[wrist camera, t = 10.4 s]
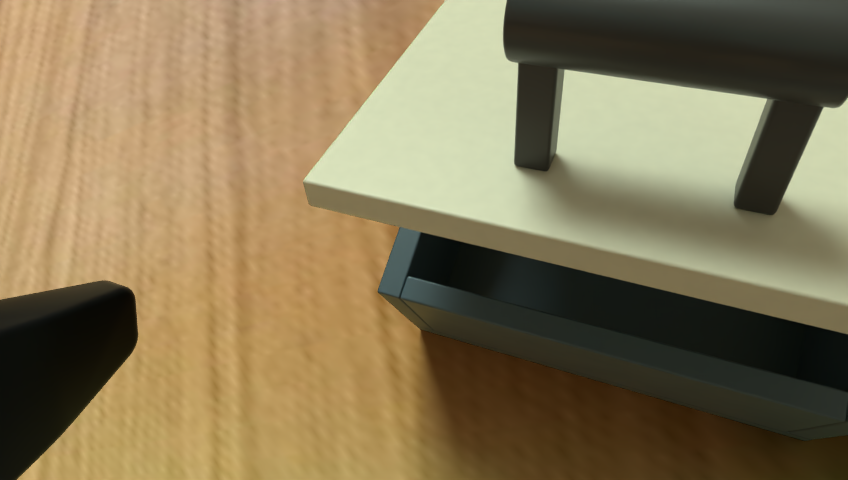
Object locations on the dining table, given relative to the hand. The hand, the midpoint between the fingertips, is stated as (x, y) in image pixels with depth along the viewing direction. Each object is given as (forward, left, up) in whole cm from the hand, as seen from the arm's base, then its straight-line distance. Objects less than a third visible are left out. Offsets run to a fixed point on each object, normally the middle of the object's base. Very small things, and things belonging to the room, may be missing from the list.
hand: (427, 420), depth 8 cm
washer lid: (+9, +2, -6) cm, 11 cm away
